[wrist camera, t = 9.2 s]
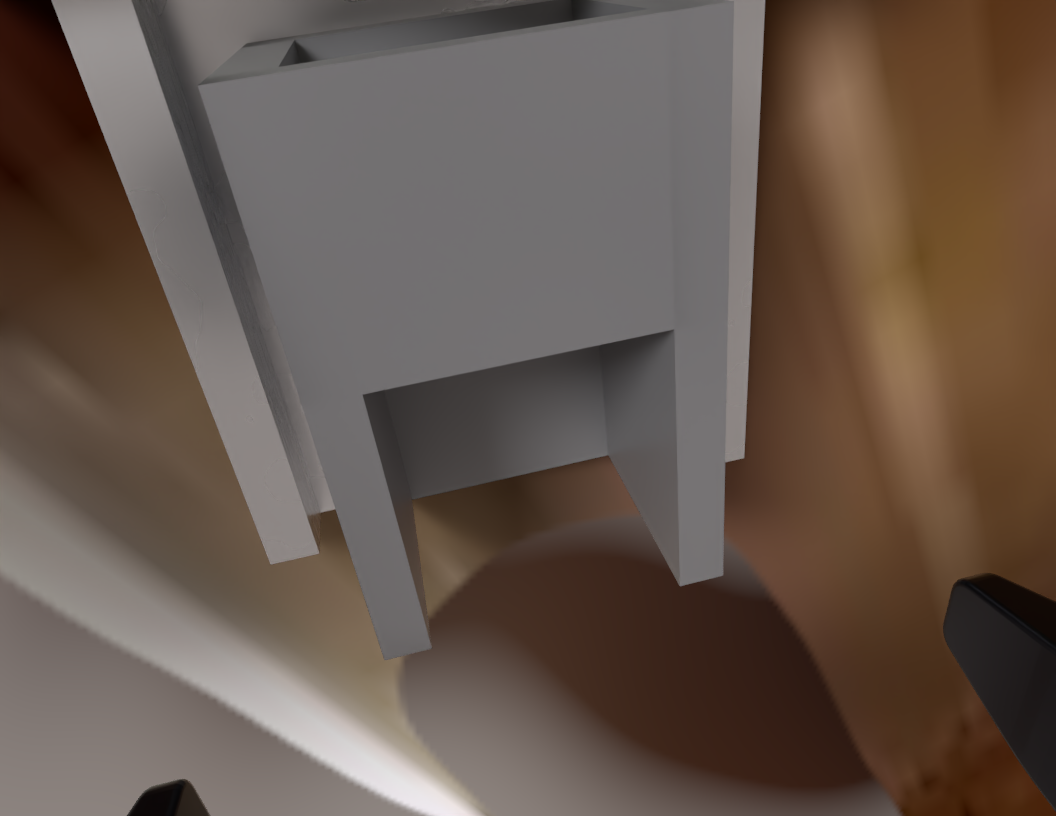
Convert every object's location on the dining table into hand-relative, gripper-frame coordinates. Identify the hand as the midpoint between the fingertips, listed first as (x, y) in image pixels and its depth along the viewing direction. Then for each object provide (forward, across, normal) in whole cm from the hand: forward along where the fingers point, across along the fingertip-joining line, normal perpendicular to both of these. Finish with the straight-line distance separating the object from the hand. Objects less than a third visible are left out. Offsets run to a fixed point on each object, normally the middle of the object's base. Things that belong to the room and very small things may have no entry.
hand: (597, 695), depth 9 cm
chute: (+9, 0, -2) cm, 9 cm away
